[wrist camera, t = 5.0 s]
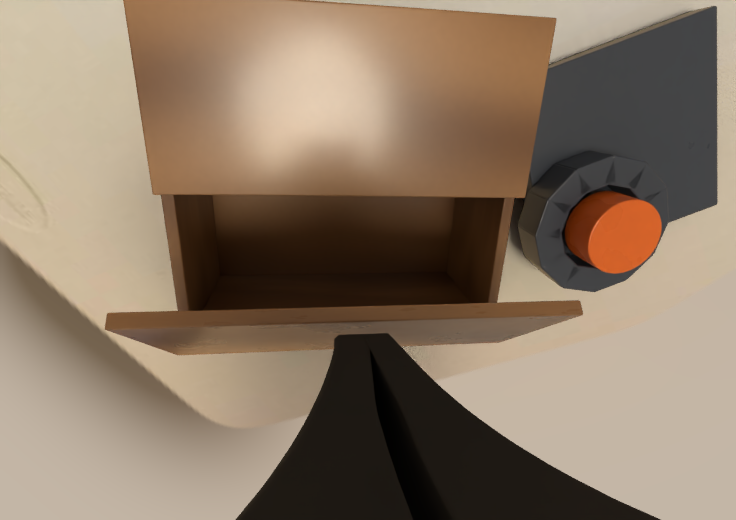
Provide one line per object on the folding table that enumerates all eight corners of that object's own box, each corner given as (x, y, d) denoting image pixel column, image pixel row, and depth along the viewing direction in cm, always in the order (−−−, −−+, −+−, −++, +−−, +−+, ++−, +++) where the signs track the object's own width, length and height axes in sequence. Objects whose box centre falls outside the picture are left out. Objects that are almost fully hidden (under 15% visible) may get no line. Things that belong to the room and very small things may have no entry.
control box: (696, 216, 22) (751, 234, 19) (519, 282, 22) (549, 309, 19) (691, 10, 18) (759, -5, 15) (477, 91, 18) (506, 90, 15)
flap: (498, 332, 16) (499, 342, 16) (178, 343, 14) (176, 355, 14) (580, 299, 11) (584, 314, 11) (106, 312, 9) (103, 329, 9)
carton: (450, 275, 21) (501, 340, 16) (214, 279, 20) (174, 353, 14) (478, 42, 18) (559, 14, 12) (187, 24, 16) (118, -17, 10)
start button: (634, 244, 19) (664, 258, 17) (569, 269, 19) (593, 284, 17) (628, 179, 18) (660, 188, 16) (559, 206, 18) (583, 216, 16)
